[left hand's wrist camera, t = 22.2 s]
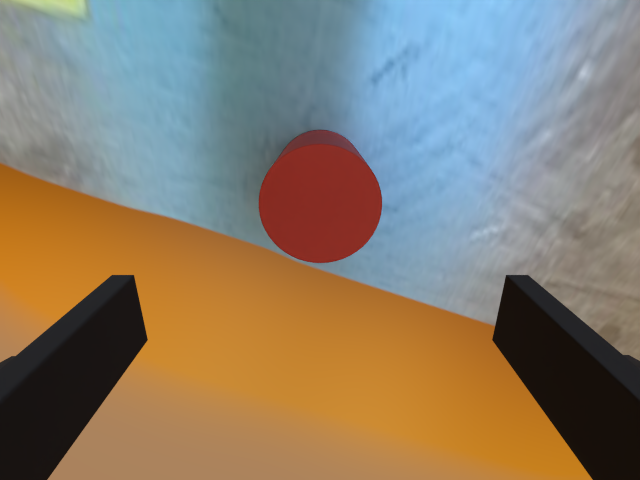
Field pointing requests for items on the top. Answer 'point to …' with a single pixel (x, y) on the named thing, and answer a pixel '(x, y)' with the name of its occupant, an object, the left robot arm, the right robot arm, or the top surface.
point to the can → (320, 198)
